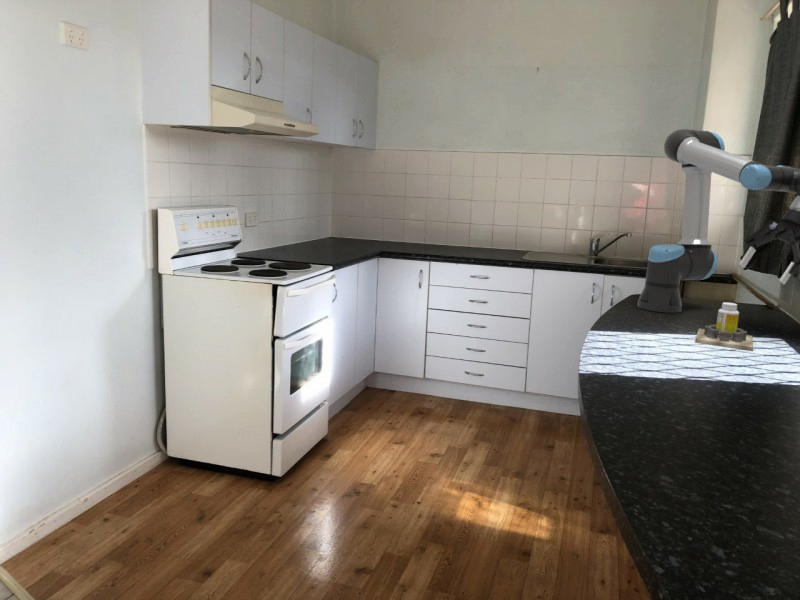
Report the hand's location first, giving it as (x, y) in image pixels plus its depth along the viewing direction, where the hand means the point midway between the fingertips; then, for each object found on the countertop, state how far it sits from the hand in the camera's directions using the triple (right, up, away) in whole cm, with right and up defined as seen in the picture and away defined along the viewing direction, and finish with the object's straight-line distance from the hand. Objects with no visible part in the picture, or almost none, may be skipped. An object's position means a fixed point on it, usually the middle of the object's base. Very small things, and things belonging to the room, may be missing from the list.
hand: (761, 274), depth 206 cm
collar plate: (-15, -20, -7) cm, 26 cm away
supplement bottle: (-15, -19, -8) cm, 25 cm away
